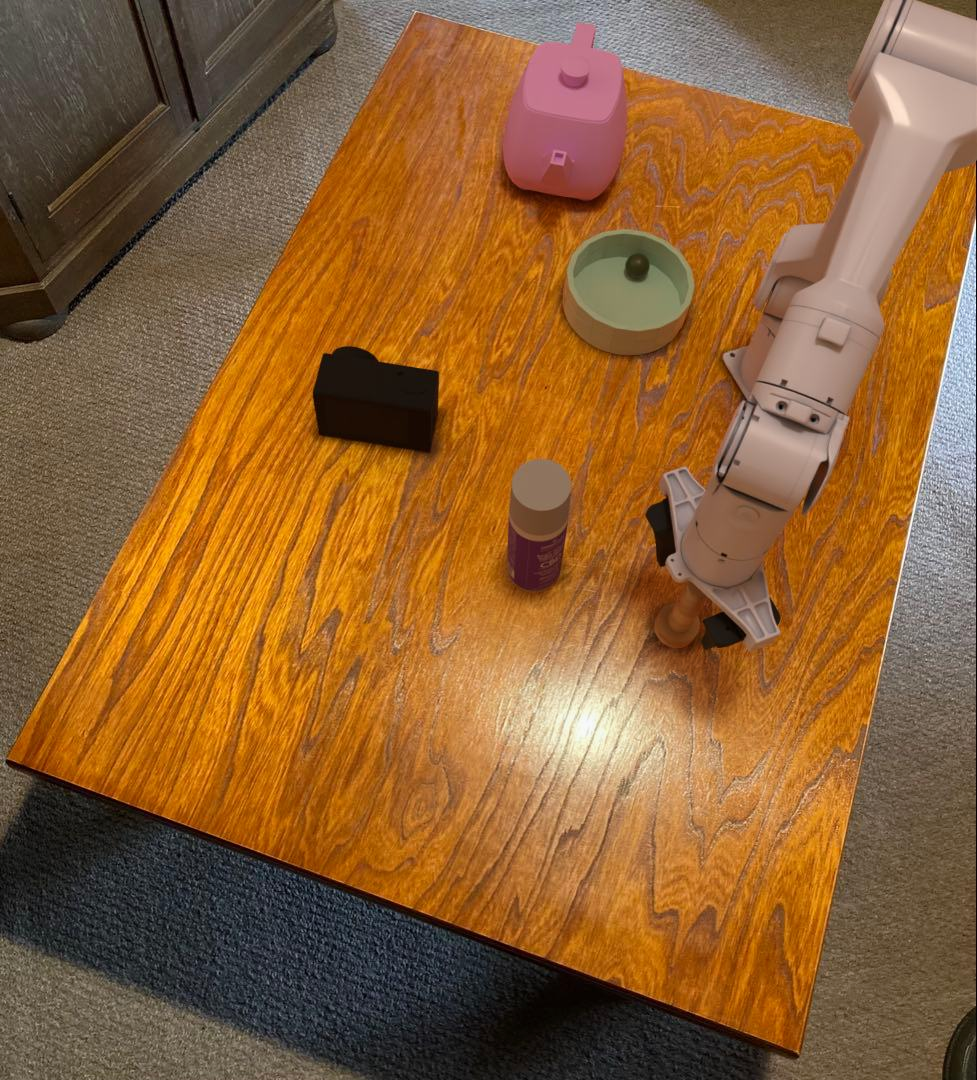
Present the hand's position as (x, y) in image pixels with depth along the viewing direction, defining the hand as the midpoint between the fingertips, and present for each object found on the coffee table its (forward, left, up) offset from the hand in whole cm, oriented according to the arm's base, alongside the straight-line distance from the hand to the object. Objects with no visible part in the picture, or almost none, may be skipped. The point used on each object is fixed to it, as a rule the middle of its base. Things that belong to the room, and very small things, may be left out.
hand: (691, 600), depth 86 cm
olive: (-14, -35, -4) cm, 38 cm away
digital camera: (+16, -29, -6) cm, 33 cm away
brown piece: (0, 0, -6) cm, 6 cm away
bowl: (-11, -33, -6) cm, 35 cm away
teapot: (-13, -51, -6) cm, 53 cm away
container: (+9, -10, -6) cm, 14 cm away
